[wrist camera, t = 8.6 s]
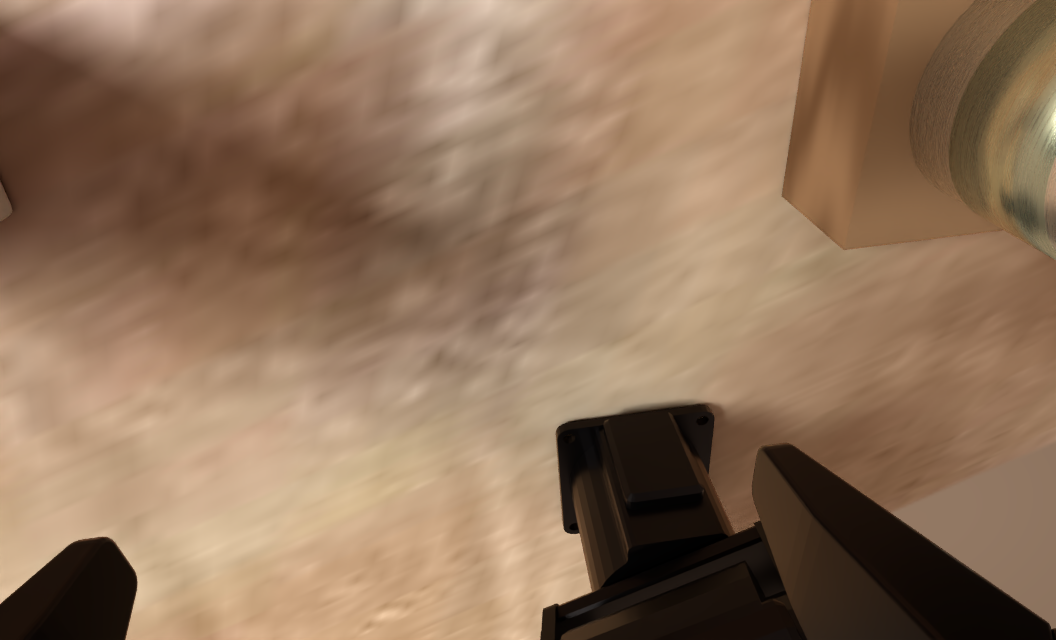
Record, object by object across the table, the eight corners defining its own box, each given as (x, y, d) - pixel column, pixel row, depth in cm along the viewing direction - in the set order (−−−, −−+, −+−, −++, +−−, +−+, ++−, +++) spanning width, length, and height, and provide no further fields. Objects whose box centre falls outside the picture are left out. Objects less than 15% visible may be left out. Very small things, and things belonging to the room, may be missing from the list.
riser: (1009, 168, 22) (1112, 216, 18) (781, 196, 21) (843, 250, 18) (1110, -115, 17) (1270, -120, 14) (824, -86, 17) (917, -85, 13)
